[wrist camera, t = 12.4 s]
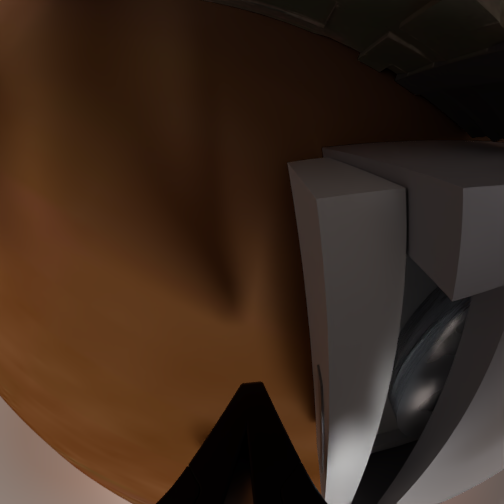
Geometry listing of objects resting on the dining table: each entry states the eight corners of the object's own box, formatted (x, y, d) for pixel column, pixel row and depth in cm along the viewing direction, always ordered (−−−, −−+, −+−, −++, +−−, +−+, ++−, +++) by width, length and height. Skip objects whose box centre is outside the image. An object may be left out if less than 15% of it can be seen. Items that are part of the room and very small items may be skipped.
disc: (549, 240, 6) (577, 259, 4) (498, 380, 8) (512, 403, 7) (400, 265, 6) (430, 299, 5) (369, 423, 9) (376, 456, 7)
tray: (551, 153, 5) (626, 180, 1) (495, 386, 10) (523, 437, 6) (285, 162, 7) (311, 199, 3) (315, 443, 11) (322, 516, 7)
